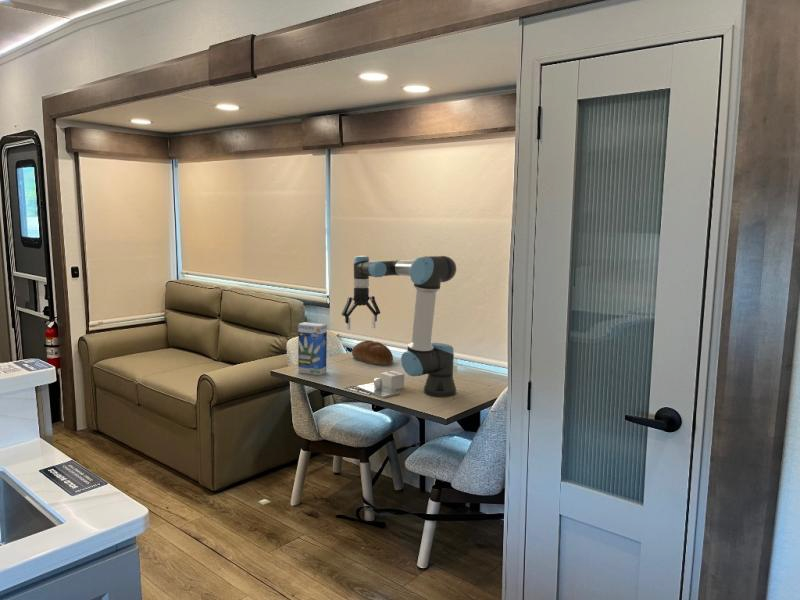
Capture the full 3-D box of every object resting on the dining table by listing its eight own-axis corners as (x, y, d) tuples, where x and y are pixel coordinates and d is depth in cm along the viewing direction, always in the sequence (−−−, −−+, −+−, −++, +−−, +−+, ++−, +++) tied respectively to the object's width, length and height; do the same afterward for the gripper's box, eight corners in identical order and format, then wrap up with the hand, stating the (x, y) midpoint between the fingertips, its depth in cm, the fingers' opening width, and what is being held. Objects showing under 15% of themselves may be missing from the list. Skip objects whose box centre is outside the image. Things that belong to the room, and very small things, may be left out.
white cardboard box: (403, 387, 288) (404, 373, 287) (391, 390, 283) (391, 375, 282) (393, 383, 294) (393, 369, 293) (380, 386, 289) (380, 372, 288)
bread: (378, 368, 325) (378, 347, 324) (345, 358, 346) (345, 338, 345) (399, 363, 336) (399, 343, 334) (366, 354, 357) (366, 335, 355)
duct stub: (400, 394, 278) (400, 381, 277) (383, 398, 271) (383, 385, 270) (373, 384, 292) (373, 372, 292) (356, 388, 286) (356, 375, 285)
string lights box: (297, 372, 312) (297, 323, 308) (305, 369, 319) (304, 321, 315) (320, 375, 307) (320, 326, 304) (327, 372, 314) (327, 323, 311)
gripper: (380, 285, 309) (380, 325, 312) (335, 287, 298) (335, 329, 301) (387, 286, 302) (386, 328, 305) (340, 288, 291) (340, 331, 294)
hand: (361, 328), depth 303 cm, fingers open, 13 cm apart
